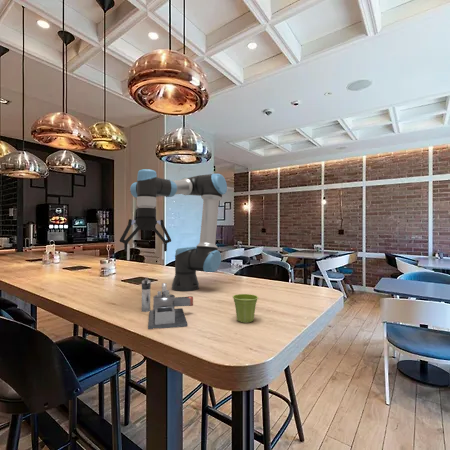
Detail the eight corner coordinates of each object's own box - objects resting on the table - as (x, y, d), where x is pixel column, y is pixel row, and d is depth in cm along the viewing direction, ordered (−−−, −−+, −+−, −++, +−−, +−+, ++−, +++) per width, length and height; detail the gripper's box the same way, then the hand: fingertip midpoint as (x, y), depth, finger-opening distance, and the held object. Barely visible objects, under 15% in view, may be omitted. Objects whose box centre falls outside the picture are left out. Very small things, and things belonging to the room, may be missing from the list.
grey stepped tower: (150, 308, 117) (150, 278, 117) (150, 312, 111) (150, 280, 112) (141, 309, 116) (142, 278, 117) (140, 313, 111) (141, 280, 111)
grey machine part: (191, 307, 114) (192, 280, 114) (194, 313, 107) (194, 284, 107) (153, 309, 111) (153, 282, 111) (153, 315, 103) (153, 286, 103)
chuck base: (182, 310, 114) (182, 298, 114) (187, 326, 96) (187, 311, 96) (149, 312, 111) (149, 300, 111) (148, 329, 93) (148, 314, 93)
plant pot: (231, 316, 107) (231, 293, 107) (255, 316, 108) (255, 293, 108) (234, 324, 98) (234, 300, 98) (260, 324, 99) (260, 299, 99)
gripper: (176, 209, 121) (176, 258, 121) (115, 207, 115) (114, 259, 115) (177, 207, 114) (177, 260, 113) (112, 206, 108) (111, 261, 108)
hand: (145, 259), depth 114 cm, fingers open, 13 cm apart
